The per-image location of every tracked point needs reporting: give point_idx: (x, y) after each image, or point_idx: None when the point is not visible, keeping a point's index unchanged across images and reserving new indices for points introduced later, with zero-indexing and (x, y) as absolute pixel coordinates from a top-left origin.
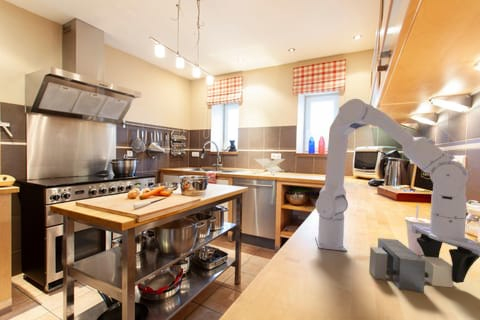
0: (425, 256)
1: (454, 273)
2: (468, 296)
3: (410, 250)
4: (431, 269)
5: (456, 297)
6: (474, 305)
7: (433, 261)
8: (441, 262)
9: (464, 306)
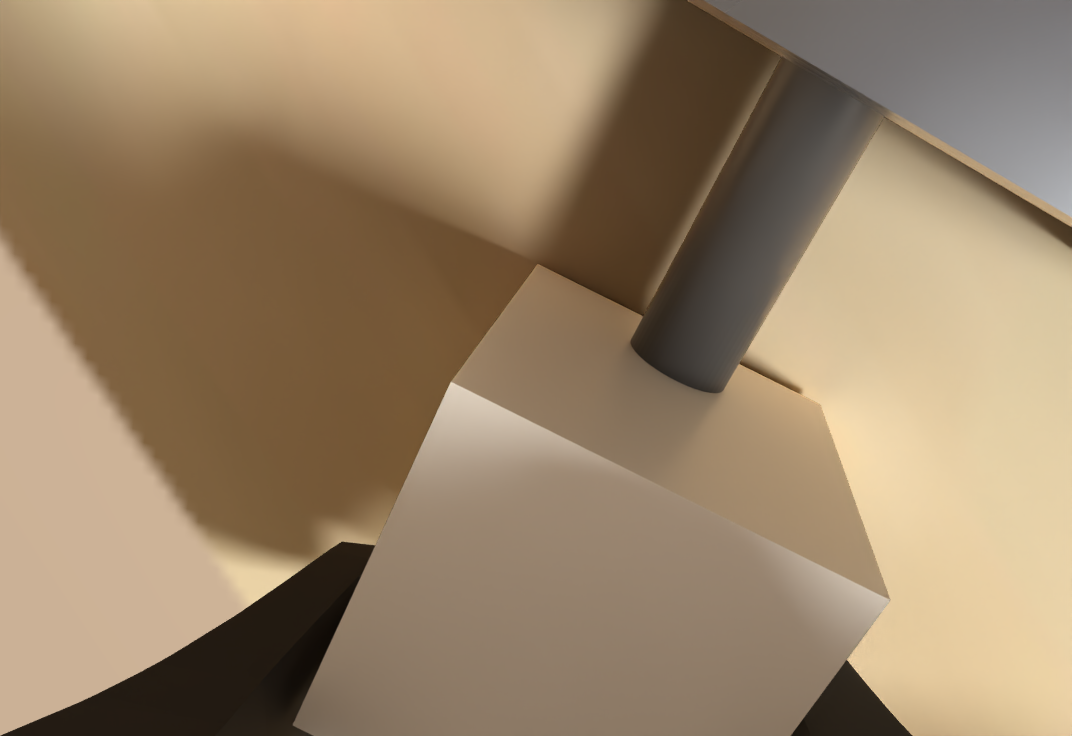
0: (883, 729)
1: (287, 601)
2: (221, 465)
3: (1041, 141)
4: (537, 366)
5: (224, 275)
6: (51, 303)
7: (593, 587)
8: (505, 700)
9: (40, 135)
